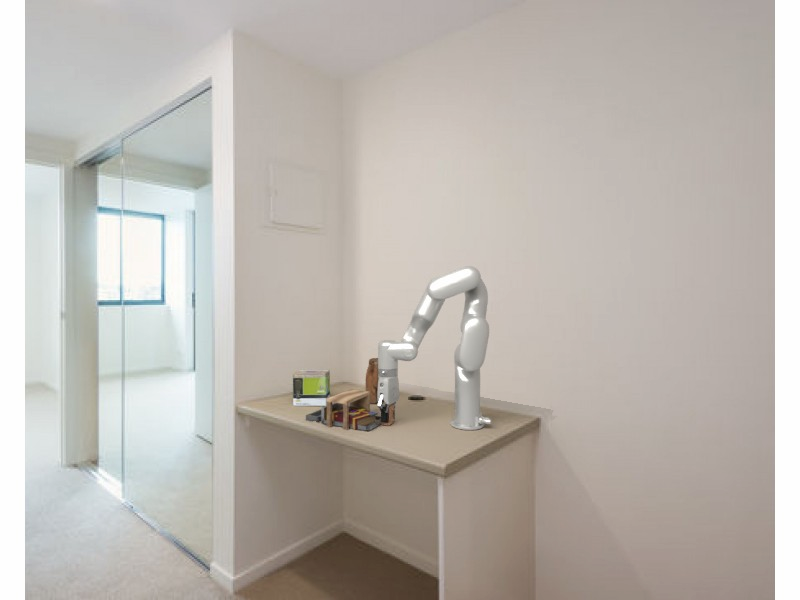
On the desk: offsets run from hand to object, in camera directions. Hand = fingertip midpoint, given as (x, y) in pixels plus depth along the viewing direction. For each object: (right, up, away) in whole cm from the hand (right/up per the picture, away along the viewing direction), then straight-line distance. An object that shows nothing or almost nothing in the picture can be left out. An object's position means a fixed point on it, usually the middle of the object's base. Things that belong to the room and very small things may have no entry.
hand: (387, 420), depth 162 cm
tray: (-11, -1, +1) cm, 12 cm away
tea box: (-35, -1, +31) cm, 47 cm away
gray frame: (-27, -1, +9) cm, 29 cm away
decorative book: (-14, -2, +2) cm, 14 cm away
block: (-6, -1, +35) cm, 35 cm away
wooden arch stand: (-15, -1, +3) cm, 16 cm away
